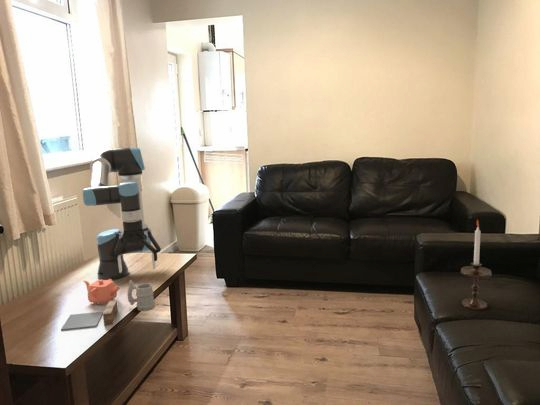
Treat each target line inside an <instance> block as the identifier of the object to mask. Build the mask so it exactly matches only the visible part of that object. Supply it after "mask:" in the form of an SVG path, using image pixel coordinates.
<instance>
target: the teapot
mask: <svg viewBox="0 0 540 405" xmlns="http://www.w3.org/2000/svg"><path fill="white" fill-rule="evenodd" d="M83 283H85V286H86V290H87V300H88V302H89V303H92V305H94V306H96V305H98V304H102V306H107V305H108V303H109V301H111V300H115V298H117V296H118V292H119V290H120V289H121V287H120V286H118V285H115V282H114V281H113V280H112V279H109V280H101V279H98V280H96V281H93V282H91V283H90V282H89V281H88V280H83Z"/></svg>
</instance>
